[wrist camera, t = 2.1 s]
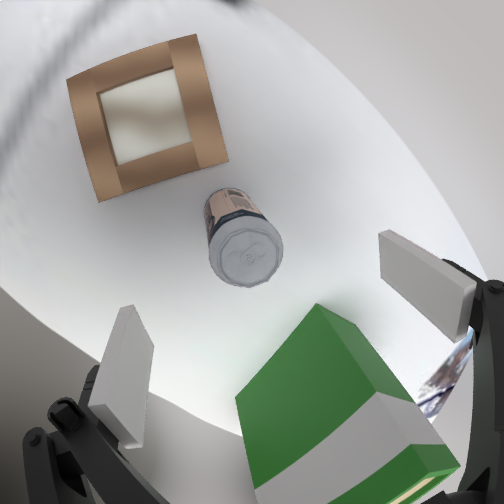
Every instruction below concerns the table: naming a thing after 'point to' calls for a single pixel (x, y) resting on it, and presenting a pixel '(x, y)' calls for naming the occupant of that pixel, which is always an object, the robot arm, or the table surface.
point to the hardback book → (336, 423)
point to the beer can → (240, 240)
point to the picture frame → (146, 117)
